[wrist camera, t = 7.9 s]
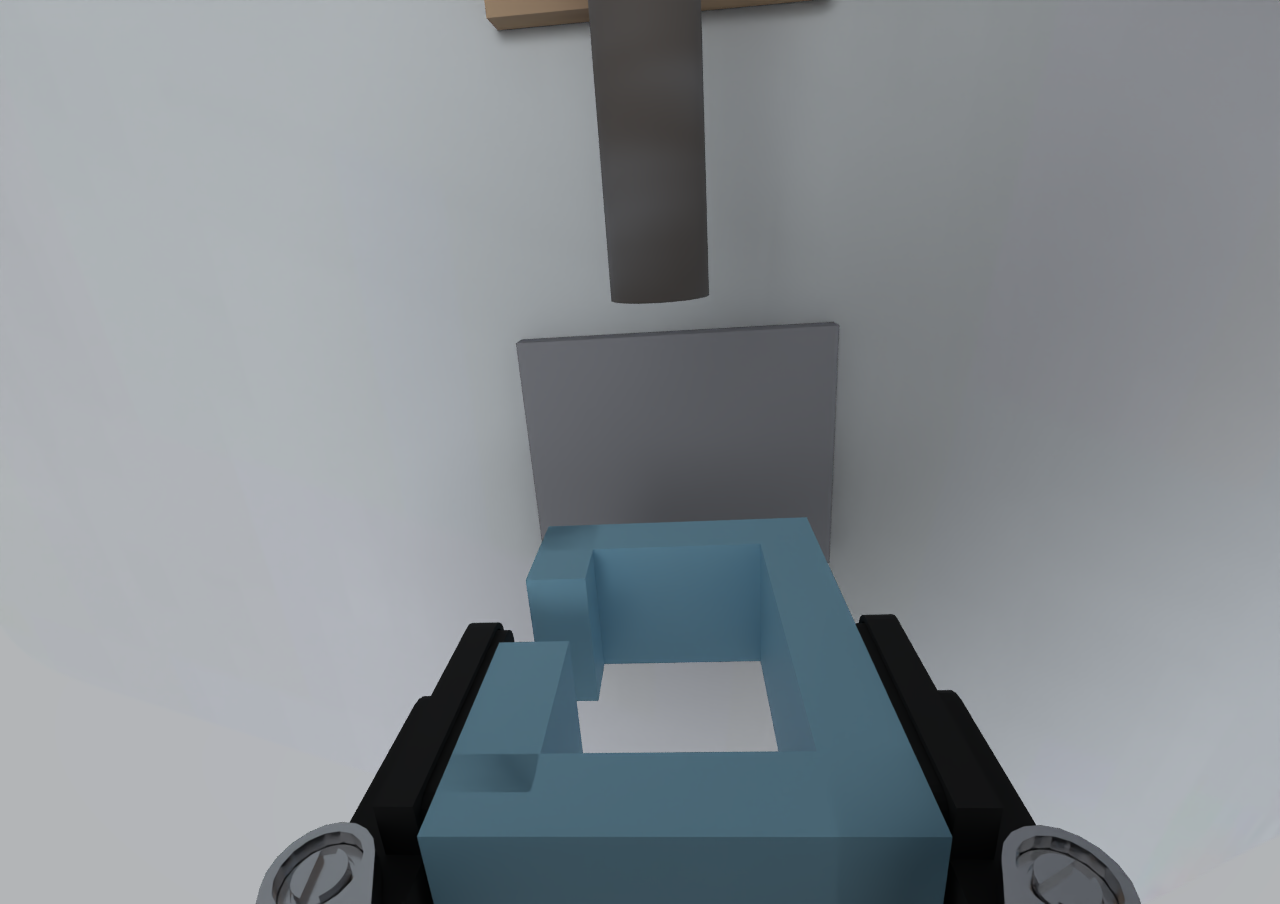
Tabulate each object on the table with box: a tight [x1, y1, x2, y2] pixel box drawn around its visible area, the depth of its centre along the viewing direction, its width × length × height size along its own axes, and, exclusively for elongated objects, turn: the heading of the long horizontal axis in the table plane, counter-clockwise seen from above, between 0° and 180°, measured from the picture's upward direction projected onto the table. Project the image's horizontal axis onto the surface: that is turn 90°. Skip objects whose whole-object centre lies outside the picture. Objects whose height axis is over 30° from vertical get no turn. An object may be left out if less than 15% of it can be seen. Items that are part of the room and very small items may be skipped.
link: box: [417, 517, 952, 904], centre depth 11 cm, size 6×3×8 cm, turn 94°
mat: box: [516, 322, 839, 563], centre depth 23 cm, size 11×9×1 cm
